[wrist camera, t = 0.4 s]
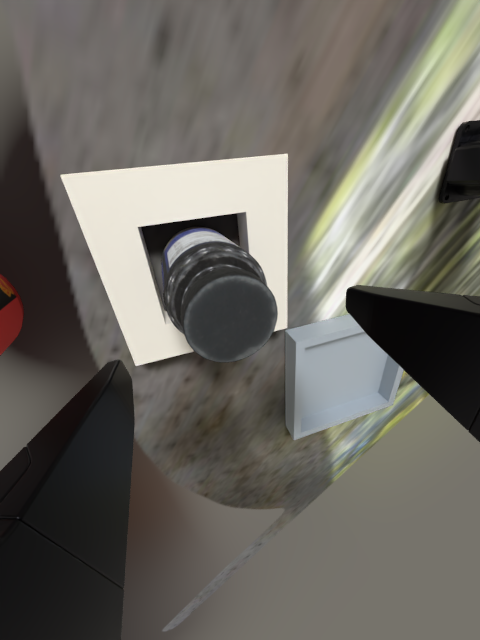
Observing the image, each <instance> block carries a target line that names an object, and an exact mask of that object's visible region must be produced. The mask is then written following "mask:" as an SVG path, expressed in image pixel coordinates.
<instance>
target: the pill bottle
mask: <svg viewBox="0 0 480 640" xmlns="http://www.w3.org/2000/svg"><path fill="white" fill-rule="evenodd" d="M161 265H162V280H163V292H164V293H163V297H164V303H165V308H166V311H167V314H168V316H169V318H170V320H171V322H172V323H173V324H174V326H175V327H176V328H177V329H178V330H179V331H180V332H182V333H183V334H184V335H185V338H186V340H187V342H188V344H189V345H190V346H191V348H192V349H193V350H194V351H195V352H196V353H197V354H199V355H200V356H202V357H203V358H205V359H208V360H211V361H215V362H234V361H238V360H241V359H244V358H246V357H249V356H250V355H252V354H254V353H255V352H256V351H258V350H259V349H260V348H262V347H263V346H264V345H265V343H266V342H267V341H268V339H269V338H270V337H271V335H272V333H273V331H274V329H275V326H276V323H277V316H278V311H277V304H276V300H275V297H274V295H273V294H272V292H271V290H270V289H269V288H268V286H267V282H266V278H265V275H264V272H263V270H262V268H261V266H260V265H259V263H258V262H257V261H256V260H255V259H254V258H253V257H252V256H251V255H250V254H249V253H248V252H247V251H245V250H243V249H242V248H240V247H239V246H237V245H236V244H234V243H233V242H232V241H230V240H229V239H227V238H226V237H224V236H223V235H221V234H220V233H219V232H217V231H215V230H213V229H211V228H207V227H203V226H193V227H188V228H186V229H183V230H181V231H179V232H177V233H176V234H174V235H173V237H172V238H171V239H170V240H169V241H168V243H167V245H166V247H165V249H164V251H163V254H162V259H161Z"/></svg>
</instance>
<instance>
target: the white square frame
mask: <svg viewBox="0 0 480 640" xmlns="http://www.w3.org/2000/svg"><path fill="white" fill-rule="evenodd" d="M60 176H61V178H62V181H63V183H64V186H65V188H66V191H67V193H68V196H69V198H70V201H71V203H72V206H73V208H74V211H75V213H76V216H77V219H78V221H79V224H80V226H81V229H82V231H83V234H84V236H85V239H86V241H87V244H88V246H89V249H90V251H91V254H92V256H93V259H94V261H95V264H96V267H97V269H98V272H99V274H100V277H101V279H102V282H103V284H104V287H105V289H106V292H107V294H108V297H109V299H110V302H111V304H112V307H113V309H114V312H115V314H116V317H117V320H118V322H119V325H120V327H121V330H122V332H123V335H124V337H125V340H126V342H127V345H128V347H129V350H130V352H131V355H132V357H133V360H134V362H135V365H136V366H138V365H142V364H146V363H150V362H154V361H158V360H162V359H166V358H170V357H174V356H178V355H182V354H186V353H190V352H194V350H193V349H192V348H191V346H190V345H189V344H188V342H187V340H186V338H185V335H184V334H183V333H182V332H180V331H179V330H178V329H177V328H176V327H175V326H174V324H173V323H172V322H171V320H170V318H169V316H168V314H167V311H164V308H163V304H162V300H161V297H160V293H159V290H158V286H157V283H156V279H155V275H154V272H153V268H152V265H151V261H150V258H149V254H148V250H147V247H146V243H145V240H144V236H143V233H142V229H141V227H142V226H149V225H156V224H163V223H170V222H177V221H184V220H192V219H199V218H206V217H213V216H220V215H227V214H234V213H237V220H238V231H239V241H240V248H242V249H243V250H245V251H247V252H248V253H249V254H250V255H251V256H252V257H253V258H254V259H255V260H256V261H257V262H258V263H259V265H260V266H261V268H262V270H263V272H264V275H265V278H266V282H267V286H268V288H269V289H270V290H271V292H272V294H273V295H274V297H275V300H276V304H277V311H278V316H277V323H276V326H275V329H274V331H277V330H281V329H285V328H287V225H288V154H280V155H269V156H258V157H247V158H237V159H226V160H215V161H204V162H193V163H183V164H172V165H161V166H150V167H139V168H129V169H118V170H107V171H96V172H85V173H75V174H64V175H60Z"/></svg>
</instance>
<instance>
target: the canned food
mask: <svg viewBox="0 0 480 640" xmlns="http://www.w3.org/2000/svg"><path fill="white" fill-rule="evenodd" d="M23 316H24V311H23V304H22V301H21V298H20V296H19V294H18V293H17V291H16V290H15V288H14V287H13V286H12V284H11V283H10V282H9V281H8V280H7V279H6V278H5V277H3V276H2V275H1V274H0V355H1V354H2V353H3V352H4V351H5V350H6V349H7V347H9V345H10V344H11V343H12V342H13V341H14V340H15V338H16V337H17V336H18V334H19V332H20V330H21V328H22V323H23Z"/></svg>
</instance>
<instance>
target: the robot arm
mask: <svg viewBox="0 0 480 640" xmlns="http://www.w3.org/2000/svg"><path fill="white" fill-rule="evenodd" d="M474 198H480V120H478V121H468V122H464V123H462V124H461V125H460V127H459V129H458V133H457V136H456V140H455V143H454V147H453V150H452V154H451V158H450V161H449V165H448V168H447V172H446V175H445V179H444V183H443V186H442V190H441V193H440V197H439V202H440V203H450V202H456V201H462V200H468V199H474ZM346 310H347V311H348V313H349V314H350V315H351V316H352V317H353V319H354V320H355V321H356V322H357V323H358V324H359V326H360V327H361V328H362V329H363V330H364V331H365V333H366V334H367V335H368V336H369V337H370V338H371V339H372V340H373V341H374V342H375V343H376V344H377V345H378V346H379V347H380V348H381V349H382V350H383V351H384V352H385V353H387V354H388V355H389V356H390V357H391V358H392V359H393V360H394V361H395V362H396V363H397V364H398V365H399V366H400V367H401V368H402V369H403V370H404V371H406V372H407V373H408V374H409V375H410V376H411V377H412V378H413V379H414V380H415V381H416V382H417V383H418V384H419V385H420V386H421V387H422V388H423V389H424V390H426V391H427V392H428V393H429V394H430V395H431V396H432V397H433V398H434V399H435V400H436V401H437V402H438V403H439V404H440V405H441V406H442V407H444V408H445V409H446V410H447V411H448V412H449V413H450V414H451V415H452V416H453V417H454V418H455V419H456V420H457V421H458V422H459V423H460V424H461V425H462V426H463V427H465V428H466V429H467V430H469V433H471V434H472V435H473V436H474V437H475V438H476V439H477V440H478V441H479V442H480V297H478V296H467V295H463V296H461V295H456V294H446V293H436V292H425V291H415V290H404V289H394V288H383V287H373V286H362V285H356V286H353V287H350V288H348V289H347V292H346ZM133 439H134V402H133V387H132V379H131V376H130V374H129V373H128V371H127V369H126V367H125V365H124V364H123V362H122V361H121V360H119V359H118V360H114V361H111V362H108V363H107V364H106V365H105V366H104V367H103V368H102V369H101V370H100V371H99V372H98V373H97V374H96V375H95V376H94V377H93V378H92V379H91V380H90V381H89V382H88V383H87V384H86V385H85V386H84V387H83V388H82V389H81V390H80V391H79V392H78V393H77V394H76V395H75V396H74V397H73V398H72V399H71V400H70V401H69V402H68V403H67V404H66V405H65V406H64V407H63V408H62V409H61V410H60V411H59V412H58V414H56V416H55V417H53V419H51V420H50V422H49V423H48V424H47V425H46V426H45V427H44V428H43V429H42V430H41V431H40V432H39V433H38V434H37V435H36V436H35V437H34V438H33V439H32V440H31V441H30V442H29V443H28V444H27V447H24V448H23V449H22V450H21V451H20V452H19V453H18V454H17V455H16V456H15V457H14V458H13V459H12V460H11V461H10V462H9V463H8V464H7V465H6V466H5V467H4V468H3V469H2V470H1V471H0V640H121V632H122V616H123V600H124V599H123V598H124V590H123V588H124V581H125V564H126V550H127V534H128V517H129V502H130V486H131V471H132V455H133Z"/></svg>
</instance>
